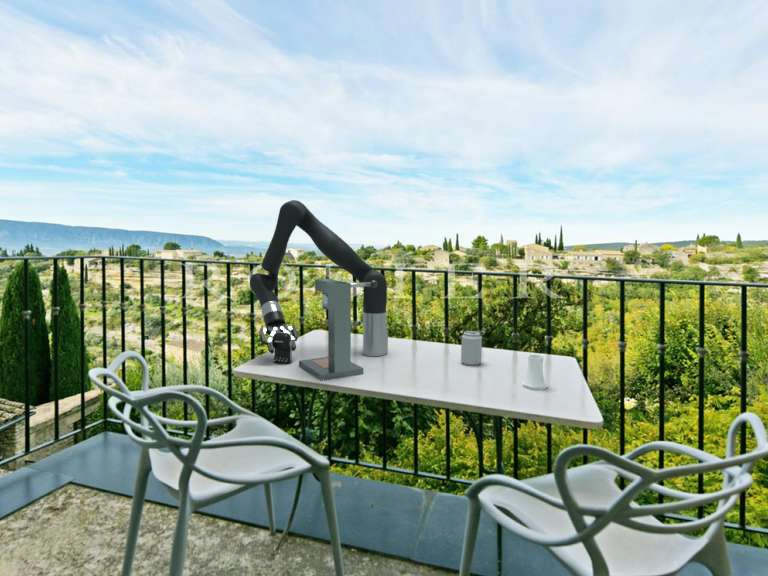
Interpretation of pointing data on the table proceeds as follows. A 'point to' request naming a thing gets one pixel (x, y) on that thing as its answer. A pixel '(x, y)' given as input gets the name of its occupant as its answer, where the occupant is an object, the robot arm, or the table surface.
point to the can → (471, 348)
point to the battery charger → (282, 347)
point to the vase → (535, 373)
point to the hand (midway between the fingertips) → (283, 351)
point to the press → (336, 331)
